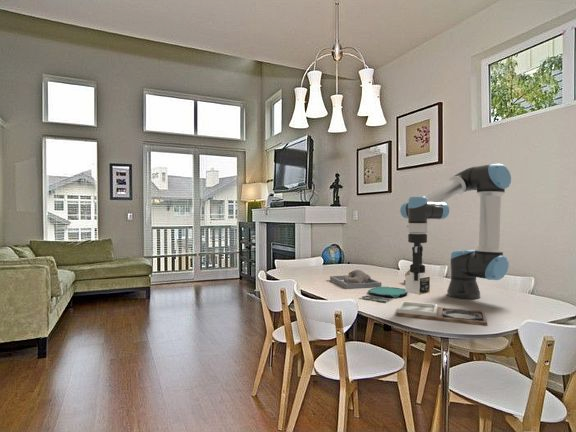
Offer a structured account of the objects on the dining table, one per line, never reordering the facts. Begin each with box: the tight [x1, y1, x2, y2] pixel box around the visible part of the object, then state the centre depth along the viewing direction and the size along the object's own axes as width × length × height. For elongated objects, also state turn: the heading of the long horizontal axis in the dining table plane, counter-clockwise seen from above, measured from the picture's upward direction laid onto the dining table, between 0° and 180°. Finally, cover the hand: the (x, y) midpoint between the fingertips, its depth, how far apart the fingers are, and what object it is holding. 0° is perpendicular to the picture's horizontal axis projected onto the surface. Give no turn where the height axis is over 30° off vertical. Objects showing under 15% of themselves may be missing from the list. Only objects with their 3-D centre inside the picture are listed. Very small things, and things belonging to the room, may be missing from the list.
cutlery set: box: [358, 286, 409, 304], centre depth 192 cm, size 20×30×2 cm, turn 140°
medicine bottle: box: [404, 263, 431, 296], centre depth 159 cm, size 7×7×12 cm
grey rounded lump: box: [343, 269, 372, 284], centre depth 222 cm, size 16×9×15 cm
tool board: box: [395, 300, 488, 326], centre depth 155 cm, size 33×18×2 cm, turn 66°
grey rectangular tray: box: [329, 274, 382, 290], centre depth 225 cm, size 21×28×2 cm
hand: (417, 286), depth 159 cm, fingers closed on medicine bottle, 9 cm apart
